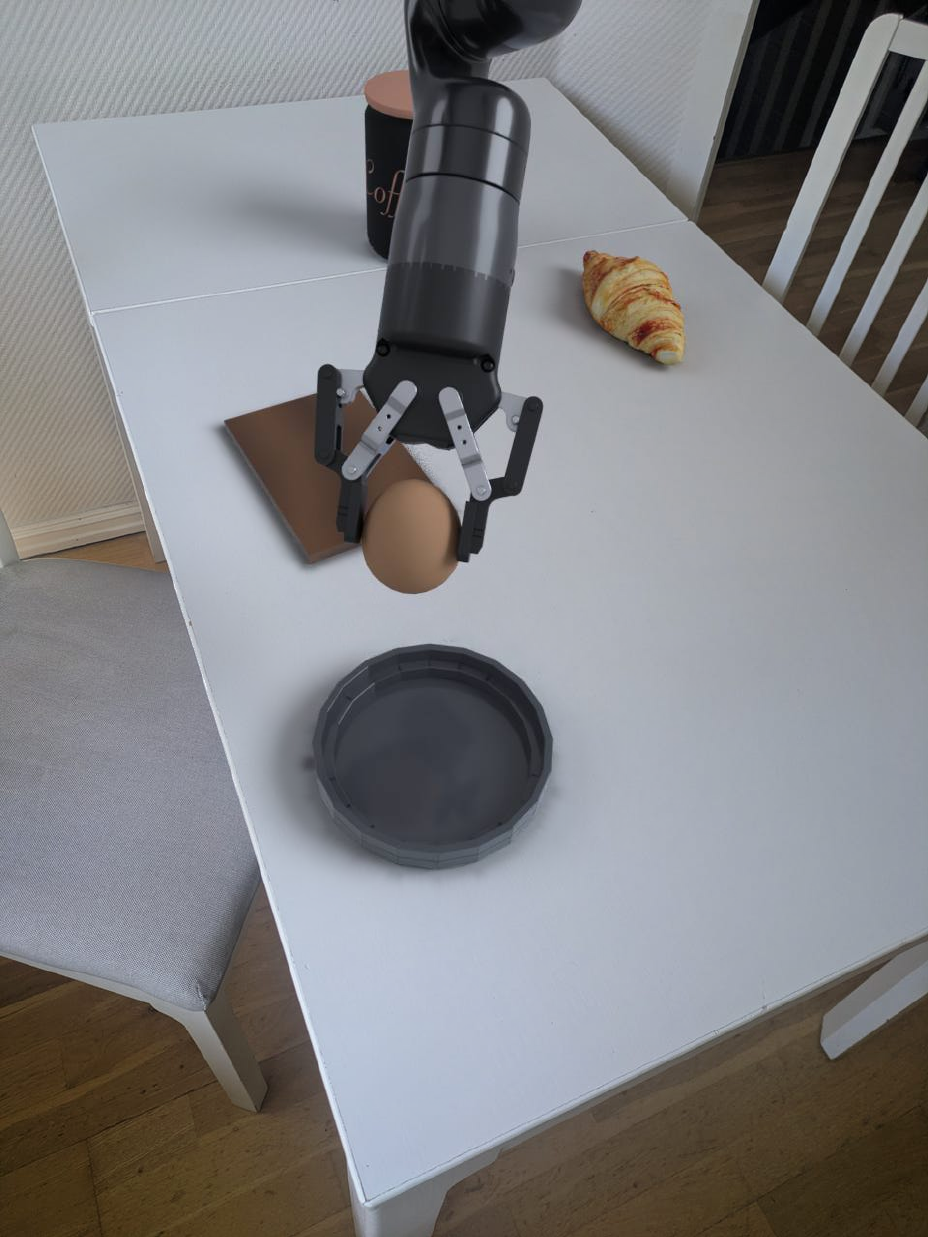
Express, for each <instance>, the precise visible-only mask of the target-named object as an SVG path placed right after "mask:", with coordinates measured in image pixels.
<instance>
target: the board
mask: <svg viewBox="0 0 928 1237" xmlns="http://www.w3.org/2000/svg"><path fill="white" fill-rule="evenodd" d="M316 401H317V392H315V393H312V394H311V393H310V394H308V395H304V396H302V397H298V398H295V399H291V400H288V401H285V402H281V403H278V404H274V405H271V406H267V407H264V408H261V409H258V410H254V411H251V412H247V413H244V414H240V415H237V416H233V417H229V418H227V419H224V420H223V423H224V428H225V431H226V433H227V435H228V436H229V438H230V439H231V441H232V443H233V444H234V446H235V448H236V449H237V451H238V452H239V454H240V455H241V457H242V459H243V460H244V462H245V463H246V464H247V466H248V468H249V470H250V471H251V472H252V474H253V476H254V478H255V479H256V480H257V482H258V484H259V485H260V487H261V489H262V490H263V492H264V493H265V495H266V497H267V498H268V500H269V501H270V503H271V504H272V506H273V508H274V509H275V511H276V513H277V514H278V516H279V517H280V519H281V520H282V522H283V524H284V525H285V527H286V528H287V530H288V532H289V533H290V535H291V537H292V538H293V540H294V541H295V544H297V546H298V547H299V550H300V551H301V553H302V554H303V555H304V557H305V559H306V560H307V563H309V565H313V564H315V563H317V562H320V561H322V560H325V559H328V558H331V557H334V556H336V555H340V554H342V553H345V552H348V551H350V550H352V549H356V548H358V547H362V537H361V541H360V543H359V544H352V543H346V542H344V533H345V532H338V530H337V526H336V518H337V511H338V504H339V497H340V490H341V479H340V476H339V475H338V474H337V473H336V472H335V471H333V470H331V469H329V468H328V467H326V466H324V465H322V464H319V463H318V462H317V461H316V459H315V456H314V449H315V425H316ZM377 415H378V414H377V412H376V410H375V408H374V406H373V404H372V403H370V401H369V400H368V399H367V397H366V396H365V395H364V393H362V391H361V389H359V390H358V391H357V393H356V395H355V399H354V401H353V402H352V403H351V404H350V405H347V406H344V421H343V444H342V452H343V453H344V454H346V455H348V456H350V455H351V453H352V452H353V450H354V449H355V448H356V446H357V445H358V444H359V442H360V440H361V437H362V435H363V434H364V433H365V431H366V430H367V428H368V427H369V426H370V424H371V423H372V422H373V420H374V419H375V417H376V416H377ZM408 479H418V480H423V481H426V482H429V483H432V484H433V485H435V483H433V481H432V480H431V479H430V478H429V476H428V475H427V474H426V472H425V471H424V470H423V469H422V468H421V466H420V465H419V463H418V462H417V461H416V459H415V458H414V457H413V456H412V454H410V452H409V451H408V449H407V448H406V447H405V446H404V445H403V443H400V442H399V441H397V440H395V442H394V443H393V445H392V446H391V447H390V449H389V450H388V451H387V452H386V454H385V455H383V456H382V457H381V459H380V460H379V461H378V463H377V464H376V466H375V467H374V468H373V470H372V471H371V472H370V474H369V475H368V476H367V478H366V482H365V484H366V485H369V489H368V496H367V502H366V509H365V516H366V514H367V512H368V510H369V508H370V506H371V505H372V503H373V502H374V500H375V499H376V498H377V497H378V495H379V494H380V493H381V492H382V491H383V490H385V489H386V488H388V487H389V486H391V485H392V484H394V483H396V482H398V481H402V480H408ZM365 516H364V519H365Z"/></svg>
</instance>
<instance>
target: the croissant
mask: <svg viewBox="0 0 928 1237" xmlns="http://www.w3.org/2000/svg"><path fill="white" fill-rule="evenodd" d="M582 267H583V271H582V275H581V276H582V277H581V286H582V289H583V293H584V294H583V295H584V301H585V305H586V307H587V308H588V311H589V312H590V315H591V317H592V319H593V320H594V321H595V322H596V323H597V324H598V325H599V326H600V327H601V328H602V329H603V330H604V331H606V332H607V333H609V334H610V335H612V336H613V337H614V338H617V339H619V340H621V341H623V342H627V343H628V346H630V347H631V348H633V349H636V350H637V351H638V350H640V351H642V352H644V353H645V354H650V355H651V356H652V357H653V360H655V361H658V362H660V363H662V364H664V365H668V366H674V365H678V364H680V363H681V362H682V360H683V358H684V355H685V350H686V346H687V345H686V335H685V333H684V331H685V319H684V315H683V313H682V310H681V308H682V307H681V305H680V304H679V303H678V302H676V301H674V292H673V289H672V286H671V284H670V281H669V276H668V274H666V273H665V272H664V271H663V270H662V269H661V268H659V267H658V266H657V265H656V264H655V263H653V262H652V261H649V260H647V259H645V258H641V257H640V256H639V255H637V256H634V257H631V258H628V257H626V256H612V255H611V254H609V253H605V252H602V253H599V251H597V250H594V249H593V250H586V252H584V254H583V256H582Z"/></svg>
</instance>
